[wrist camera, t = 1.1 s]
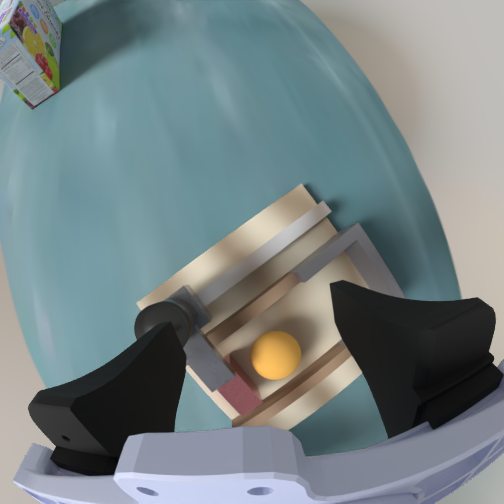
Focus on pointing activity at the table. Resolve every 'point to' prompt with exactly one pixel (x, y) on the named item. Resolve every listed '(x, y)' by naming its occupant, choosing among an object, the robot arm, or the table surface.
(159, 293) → the beige grooved board
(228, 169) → the table surface
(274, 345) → the ball
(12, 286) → the table surface
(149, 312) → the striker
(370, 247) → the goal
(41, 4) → the snack box
